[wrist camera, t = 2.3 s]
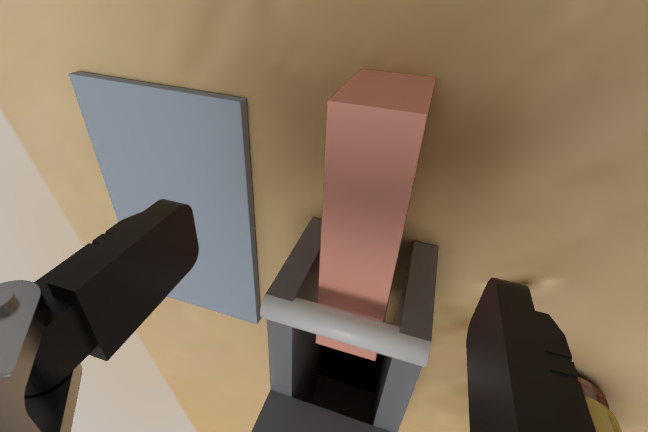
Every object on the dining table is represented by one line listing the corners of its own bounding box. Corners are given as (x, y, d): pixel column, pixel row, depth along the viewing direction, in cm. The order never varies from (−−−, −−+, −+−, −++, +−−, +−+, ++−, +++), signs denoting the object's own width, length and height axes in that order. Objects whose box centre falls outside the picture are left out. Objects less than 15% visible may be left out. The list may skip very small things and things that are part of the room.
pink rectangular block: (362, 67, 15) (327, 100, 11) (436, 76, 14) (427, 114, 10) (342, 276, 22) (315, 343, 18) (391, 288, 21) (375, 361, 17)
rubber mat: (78, 71, 19) (68, 73, 19) (246, 98, 17) (240, 101, 16) (146, 283, 28) (140, 288, 28) (260, 318, 26) (257, 324, 26)
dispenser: (312, 217, 20) (229, 354, 12) (438, 246, 18) (425, 420, 11) (304, 379, 29) (253, 511, 22) (388, 407, 27) (363, 559, 20)
